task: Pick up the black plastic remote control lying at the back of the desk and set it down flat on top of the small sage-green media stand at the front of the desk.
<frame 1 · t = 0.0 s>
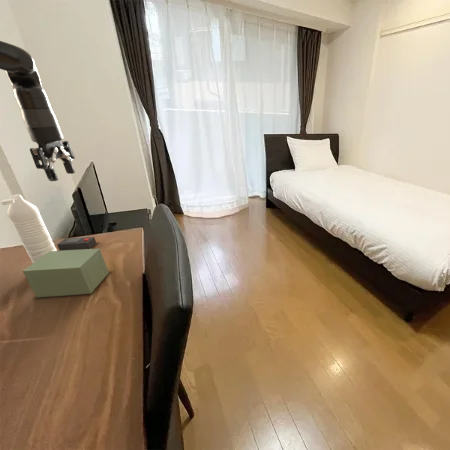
hand: (62, 176, 89), 26 cm above the table, tool pointing down, fingers open, 8 cm apart
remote: (78, 247, 100), on the table
stand: (75, 284, 81), on the table
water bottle: (49, 270, 87), on the table
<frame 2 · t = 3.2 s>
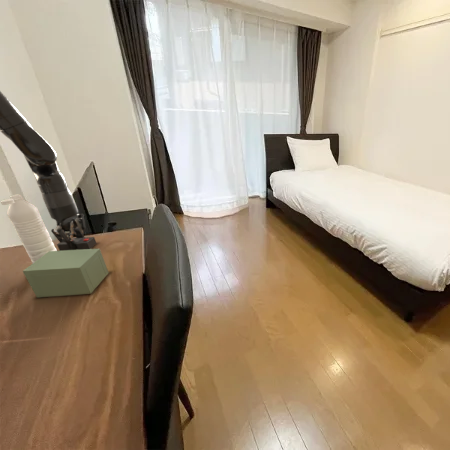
hand: (78, 245, 99), 1 cm above the table, tool pointing down, fingers closed on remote, 4 cm apart
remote: (78, 247, 100), on the table, touching gripper
everything else where it was.
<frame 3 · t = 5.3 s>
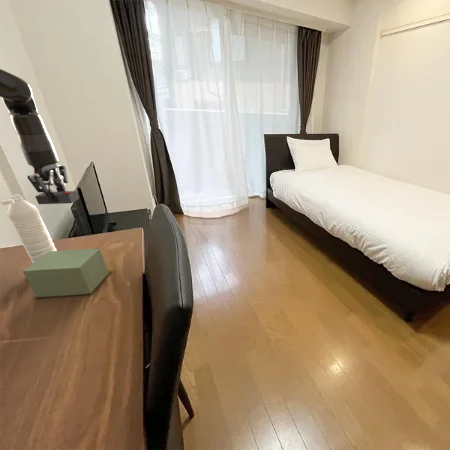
hand: (59, 199, 92), 19 cm above the table, tool pointing down, fingers closed on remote, 4 cm apart
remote: (59, 201, 92), point 18 cm above the table, touching gripper
everything else where it was.
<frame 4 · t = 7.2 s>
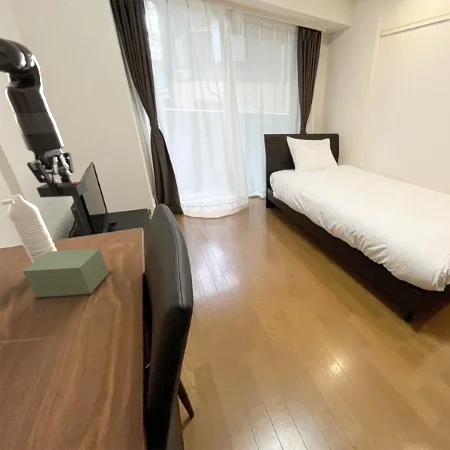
hand: (64, 192, 78), 25 cm above the table, tool pointing down, fingers closed on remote, 4 cm apart
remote: (65, 194, 78), point 25 cm above the table, touching gripper
everything else where it was.
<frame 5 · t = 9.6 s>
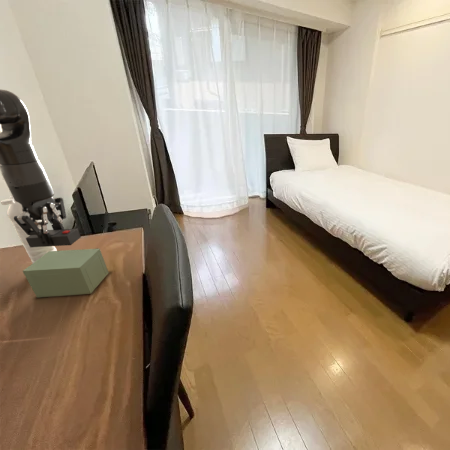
hand: (55, 240, 74), 15 cm above the table, tool pointing down, fingers closed on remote, 4 cm apart
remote: (56, 242, 74), point 14 cm above the table, touching gripper
everything else where it was.
when the fingers open (10 cm above the table, at t = 11.3 s): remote stays where it is, resting on stand.
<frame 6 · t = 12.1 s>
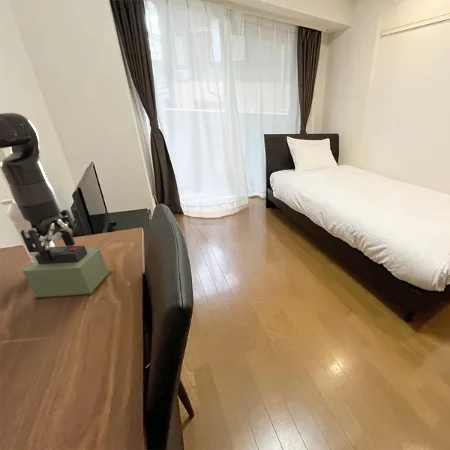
hand: (60, 253, 76), 11 cm above the table, tool pointing down, fingers open, 8 cm apart
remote: (64, 258, 77), point 9 cm above the table, touching stand
everything else where it was.
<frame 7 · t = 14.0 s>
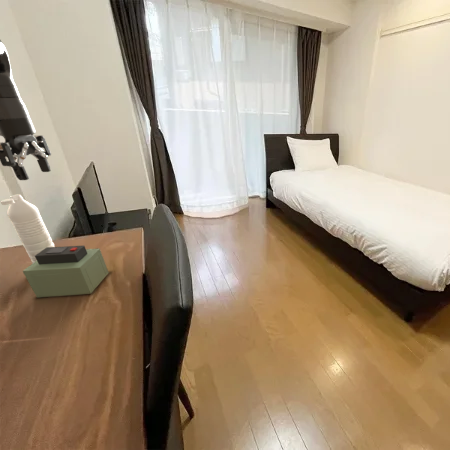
hand: (35, 175, 79), 29 cm above the table, tool pointing down, fingers open, 8 cm apart
nothing on the table moved.
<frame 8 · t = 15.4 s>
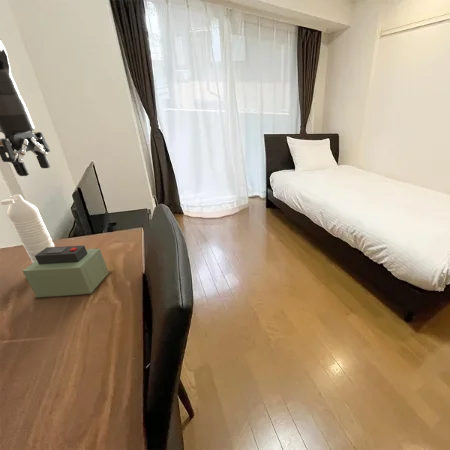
hand: (35, 171, 80), 30 cm above the table, tool pointing down, fingers open, 8 cm apart
nothing on the table moved.
at the end: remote inside the target area on the stand (0.1 cm from its centre), point 9.0 cm above the stand's base; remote tilted 0°; the gripper is holding nothing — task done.
